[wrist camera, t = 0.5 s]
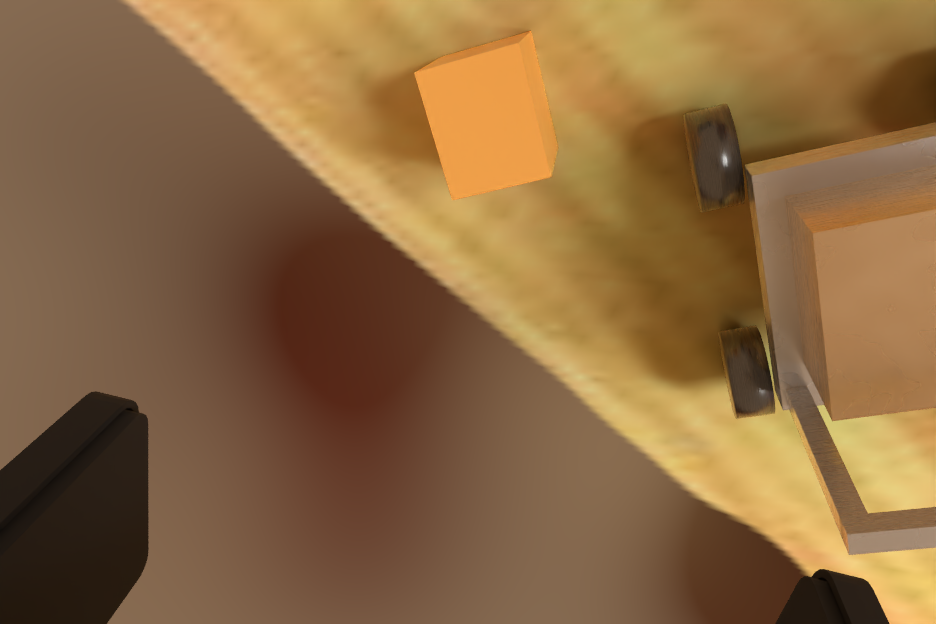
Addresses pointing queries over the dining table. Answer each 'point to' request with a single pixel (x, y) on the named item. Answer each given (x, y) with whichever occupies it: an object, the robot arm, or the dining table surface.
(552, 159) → the orange cube-like block
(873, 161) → the trolley
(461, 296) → the dining table surface
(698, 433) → the dining table surface
